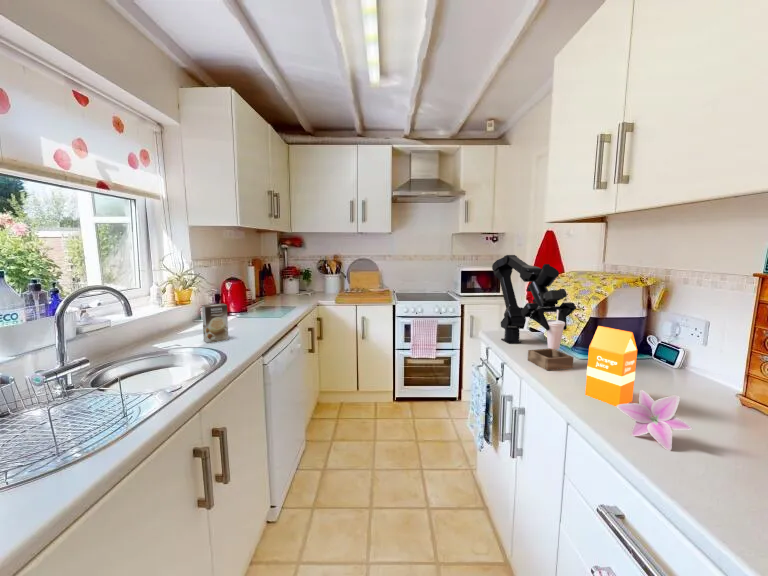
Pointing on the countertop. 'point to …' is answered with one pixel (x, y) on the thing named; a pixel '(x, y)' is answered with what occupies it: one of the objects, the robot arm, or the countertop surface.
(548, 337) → the smoothie
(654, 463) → the countertop surface
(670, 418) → the lily
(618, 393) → the orange juice
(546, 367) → the brown wooden tray
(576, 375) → the countertop surface
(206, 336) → the coffee box
